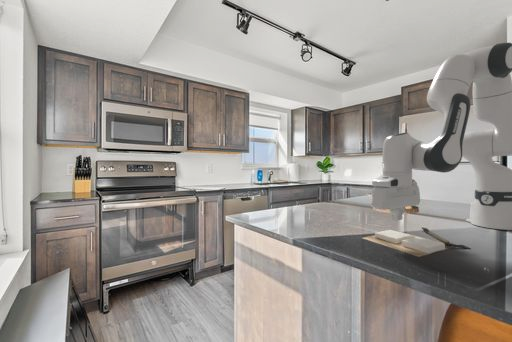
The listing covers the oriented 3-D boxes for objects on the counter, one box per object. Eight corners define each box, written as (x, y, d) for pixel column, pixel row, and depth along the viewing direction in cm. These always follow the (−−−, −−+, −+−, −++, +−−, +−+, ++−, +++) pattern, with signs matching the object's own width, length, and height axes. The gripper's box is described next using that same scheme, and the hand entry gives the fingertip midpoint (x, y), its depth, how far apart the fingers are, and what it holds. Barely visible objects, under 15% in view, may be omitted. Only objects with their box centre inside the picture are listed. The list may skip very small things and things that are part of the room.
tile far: (390, 229, 90) (374, 232, 87) (411, 235, 83) (395, 238, 80) (390, 234, 90) (374, 237, 87) (411, 240, 83) (395, 244, 80)
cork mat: (396, 231, 94) (396, 230, 94) (456, 247, 76) (456, 246, 76) (361, 239, 87) (361, 237, 87) (419, 258, 69) (419, 256, 69)
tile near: (417, 236, 81) (401, 240, 78) (444, 243, 74) (428, 248, 70) (417, 242, 81) (401, 245, 78) (444, 249, 74) (428, 254, 70)
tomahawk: (471, 251, 73) (472, 247, 73) (445, 247, 75) (446, 244, 75) (438, 232, 94) (438, 229, 94) (418, 229, 95) (419, 226, 95)
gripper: (407, 178, 92) (408, 215, 93) (368, 181, 84) (369, 221, 84) (425, 179, 87) (425, 218, 87) (385, 182, 78) (385, 225, 79)
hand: (397, 219), depth 86 cm, fingers closed
